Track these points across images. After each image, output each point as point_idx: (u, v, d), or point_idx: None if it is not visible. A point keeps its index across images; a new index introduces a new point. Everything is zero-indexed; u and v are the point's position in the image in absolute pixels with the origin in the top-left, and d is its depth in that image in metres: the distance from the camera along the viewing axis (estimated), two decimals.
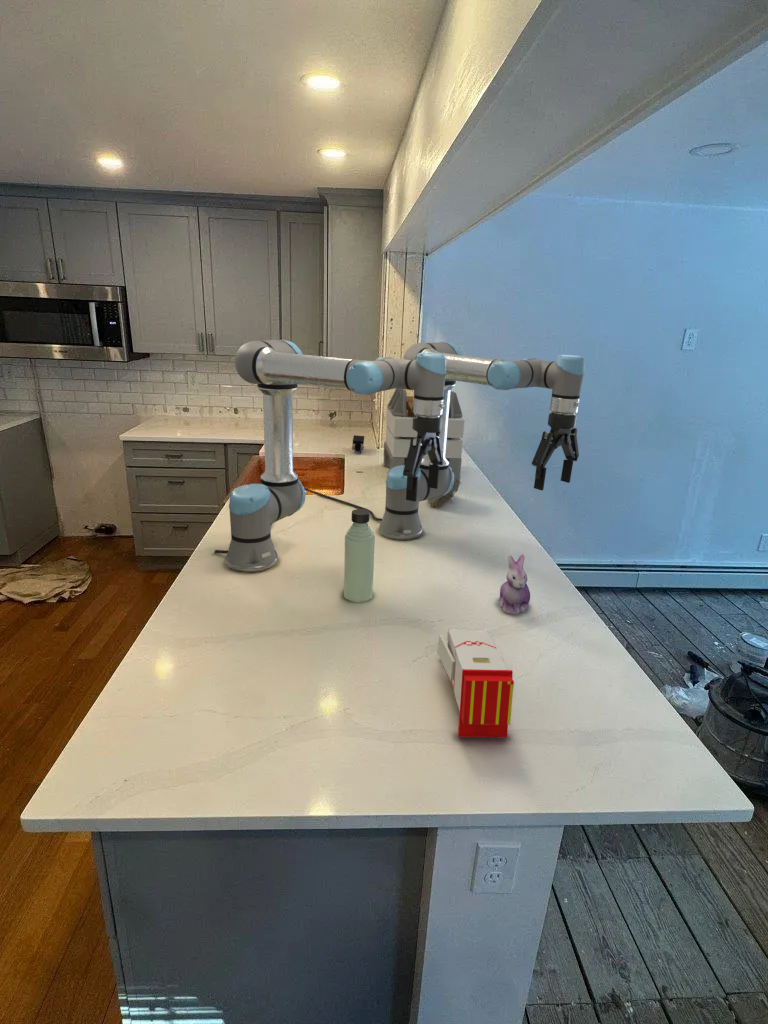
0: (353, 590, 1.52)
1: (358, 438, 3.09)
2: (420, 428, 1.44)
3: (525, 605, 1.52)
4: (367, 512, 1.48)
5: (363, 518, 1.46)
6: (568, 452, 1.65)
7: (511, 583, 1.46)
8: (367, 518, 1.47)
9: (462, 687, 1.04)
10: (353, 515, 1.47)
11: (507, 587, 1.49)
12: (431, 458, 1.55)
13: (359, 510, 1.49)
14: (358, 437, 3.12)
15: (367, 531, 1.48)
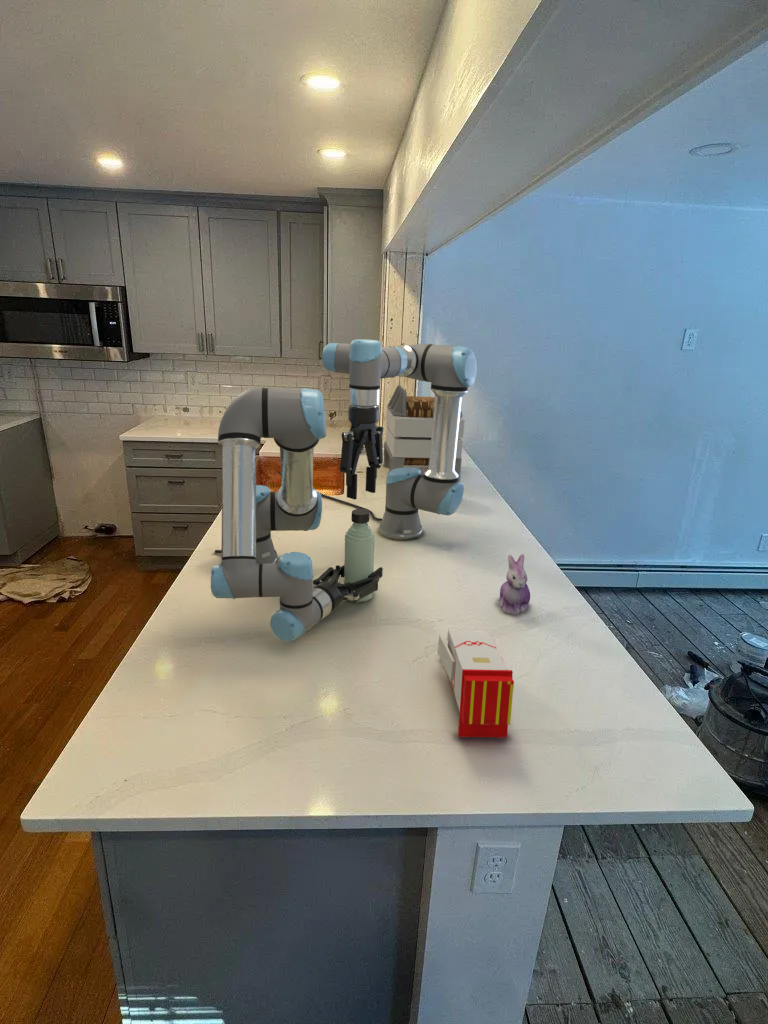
0: None
1: None
2: None
3: (525, 605, 1.52)
4: (367, 512, 1.48)
5: (363, 518, 1.46)
6: None
7: (511, 583, 1.46)
8: (367, 518, 1.47)
9: (462, 687, 1.04)
10: (353, 515, 1.47)
11: (507, 587, 1.49)
12: None
13: (359, 510, 1.49)
14: None
15: (367, 531, 1.48)
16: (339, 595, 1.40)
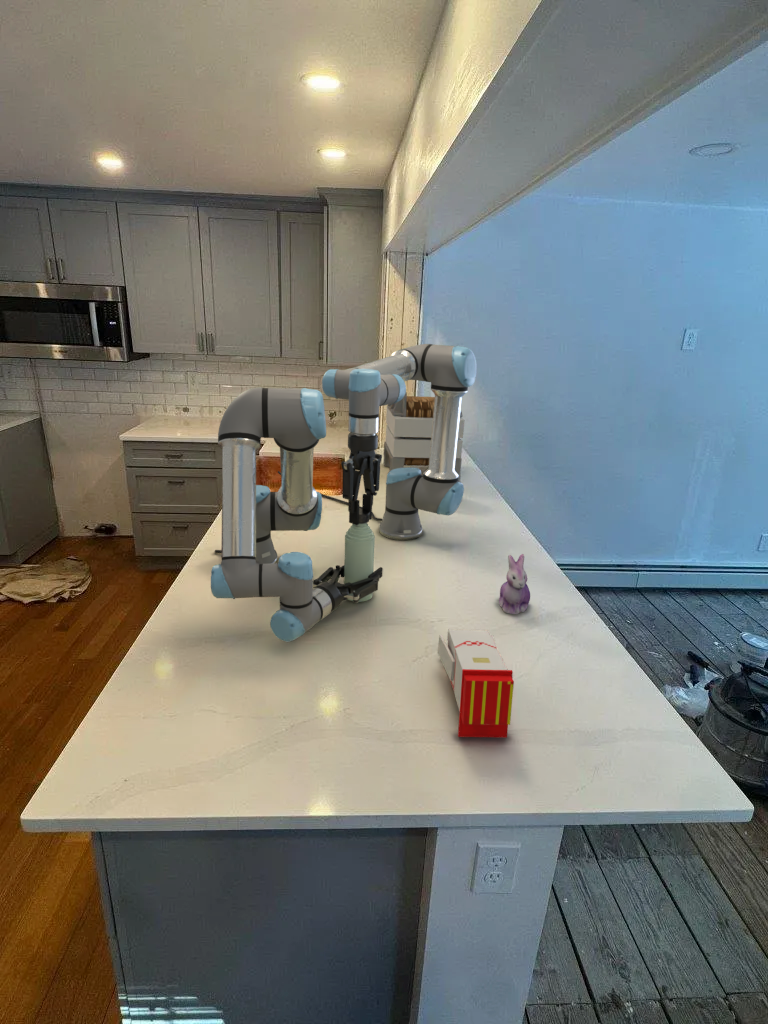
0: None
1: None
2: None
3: (525, 605, 1.52)
4: (367, 512, 1.48)
5: (363, 518, 1.46)
6: None
7: (511, 583, 1.46)
8: (367, 518, 1.47)
9: (462, 687, 1.04)
10: None
11: (507, 587, 1.49)
12: None
13: (359, 510, 1.49)
14: None
15: (367, 531, 1.48)
16: (339, 595, 1.40)
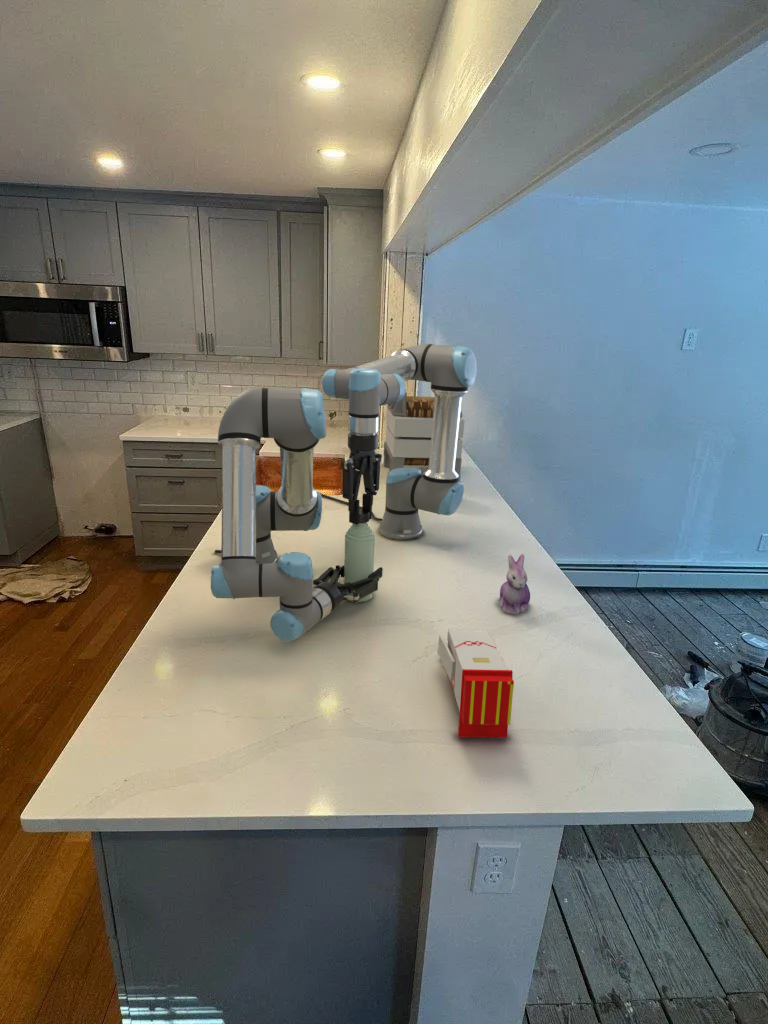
0: None
1: None
2: None
3: (525, 605, 1.52)
4: (362, 509, 1.50)
5: None
6: None
7: (511, 583, 1.46)
8: None
9: (462, 687, 1.04)
10: (365, 516, 1.47)
11: (507, 587, 1.49)
12: None
13: None
14: None
15: (367, 531, 1.48)
16: (339, 595, 1.40)
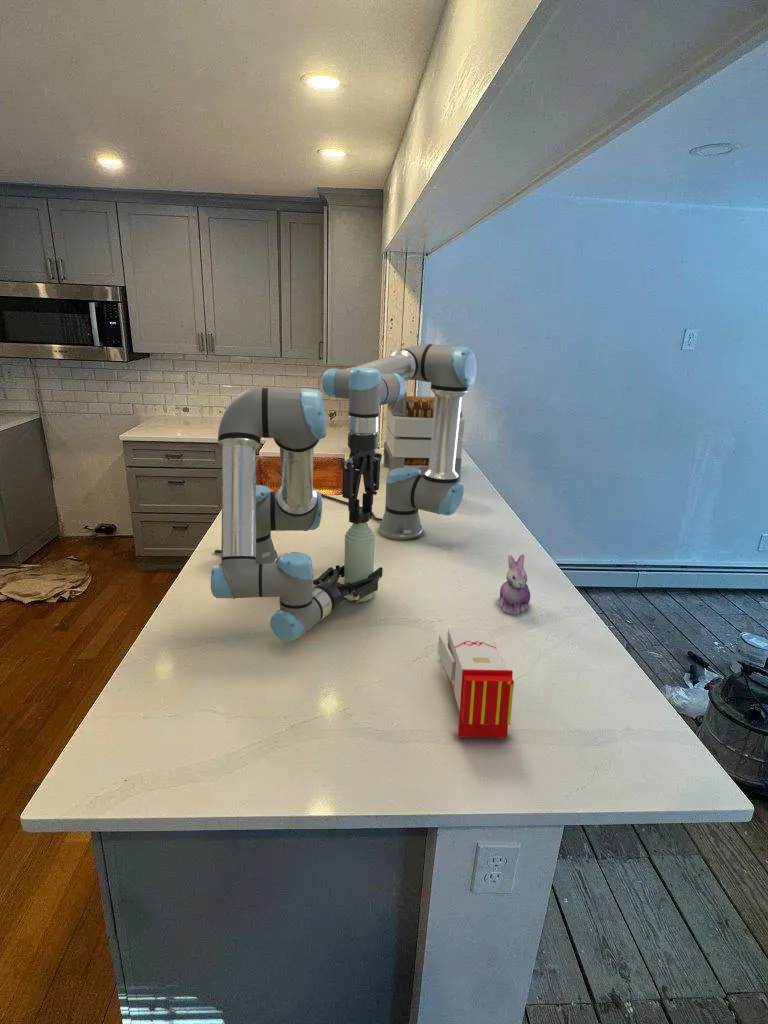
0: None
1: None
2: None
3: (525, 605, 1.52)
4: None
5: None
6: None
7: (511, 583, 1.46)
8: None
9: (462, 687, 1.04)
10: None
11: (507, 587, 1.49)
12: None
13: (361, 512, 1.47)
14: None
15: (367, 531, 1.48)
16: (339, 595, 1.40)
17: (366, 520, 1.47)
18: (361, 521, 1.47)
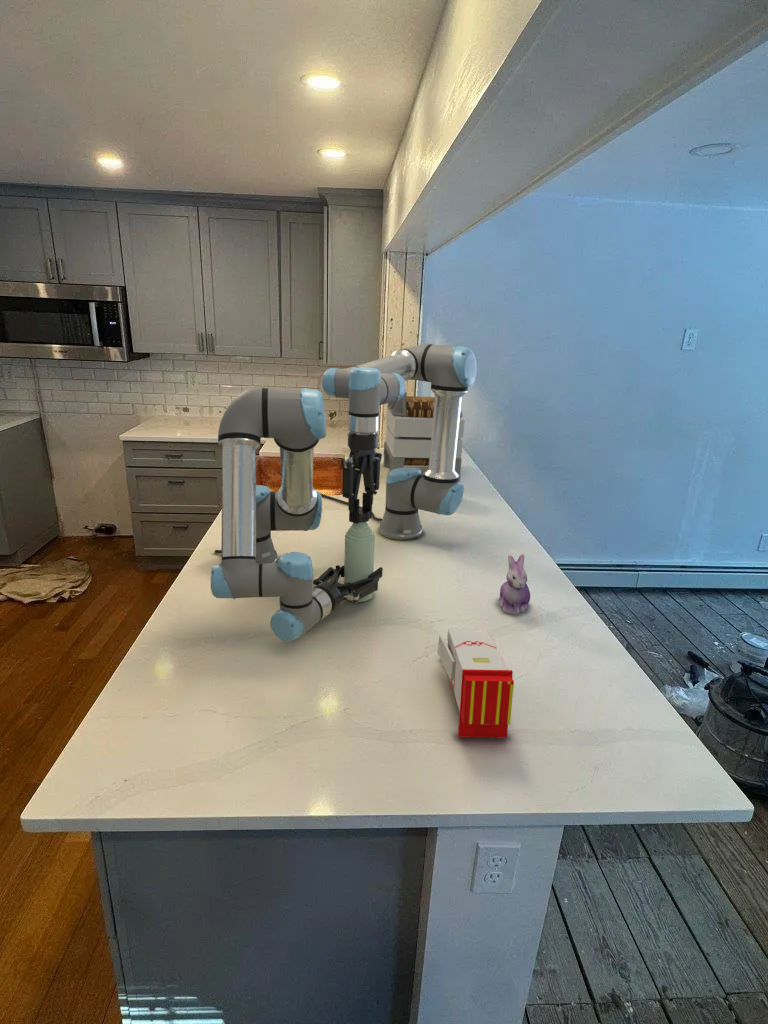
0: None
1: None
2: None
3: (525, 605, 1.52)
4: (359, 513, 1.46)
5: None
6: None
7: (511, 583, 1.46)
8: None
9: (462, 687, 1.04)
10: None
11: (507, 587, 1.49)
12: None
13: (364, 510, 1.48)
14: None
15: (367, 531, 1.48)
16: (339, 595, 1.40)
17: None
18: None
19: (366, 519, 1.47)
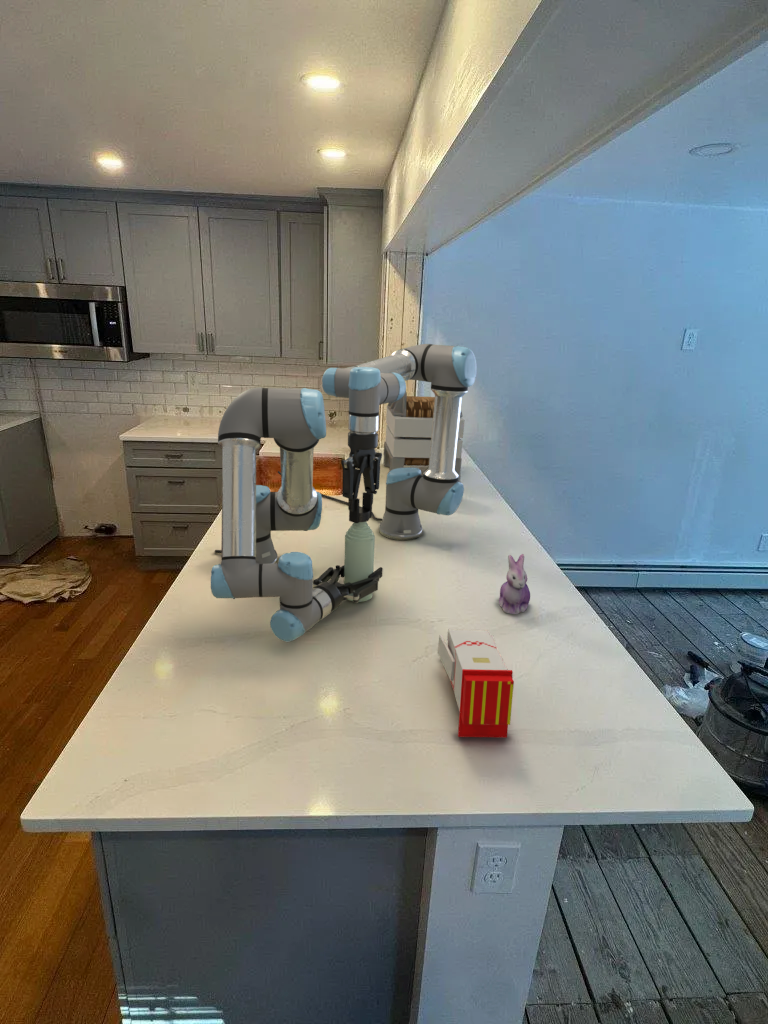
0: None
1: None
2: None
3: (525, 605, 1.52)
4: (367, 511, 1.48)
5: (363, 516, 1.46)
6: None
7: (511, 583, 1.46)
8: (367, 517, 1.47)
9: (462, 687, 1.04)
10: None
11: (507, 587, 1.49)
12: None
13: (359, 509, 1.49)
14: None
15: (367, 531, 1.48)
16: (339, 595, 1.40)
17: None
18: None
19: None
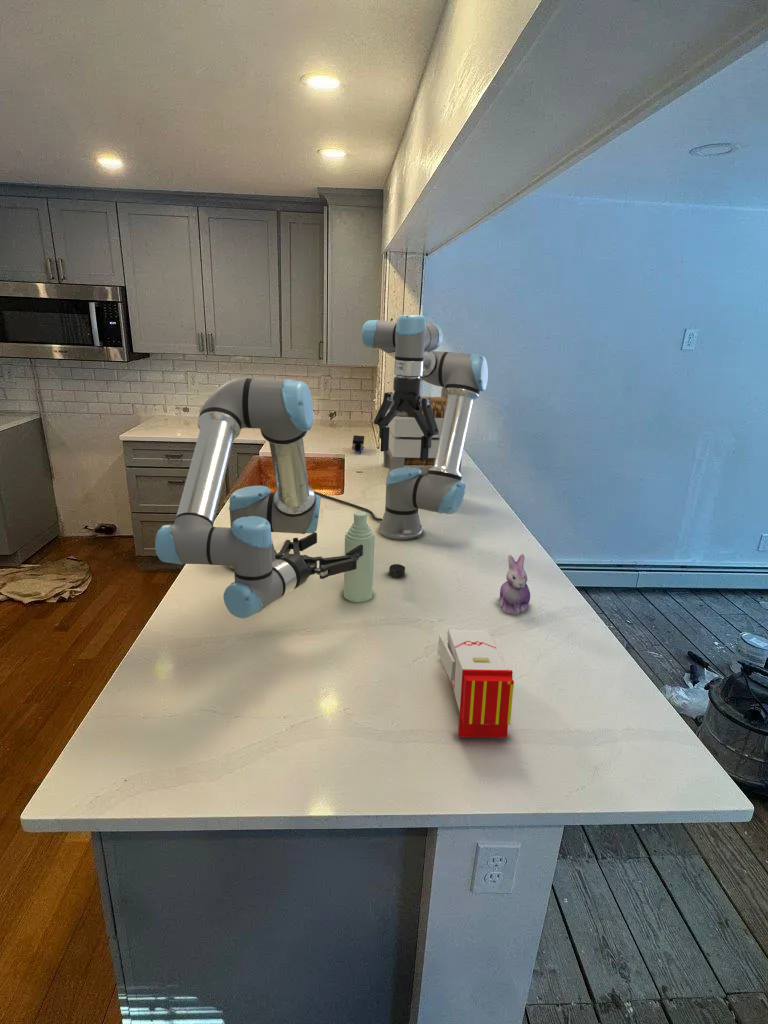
0: (353, 590, 1.52)
1: (358, 438, 3.09)
2: None
3: (525, 605, 1.52)
4: (391, 566, 1.69)
5: None
6: None
7: (511, 583, 1.46)
8: None
9: (462, 687, 1.04)
10: None
11: (507, 587, 1.49)
12: None
13: (398, 569, 1.67)
14: (358, 437, 3.12)
15: (367, 531, 1.48)
16: (305, 568, 1.24)
17: (402, 576, 1.67)
18: (397, 577, 1.67)
19: (391, 574, 1.67)
